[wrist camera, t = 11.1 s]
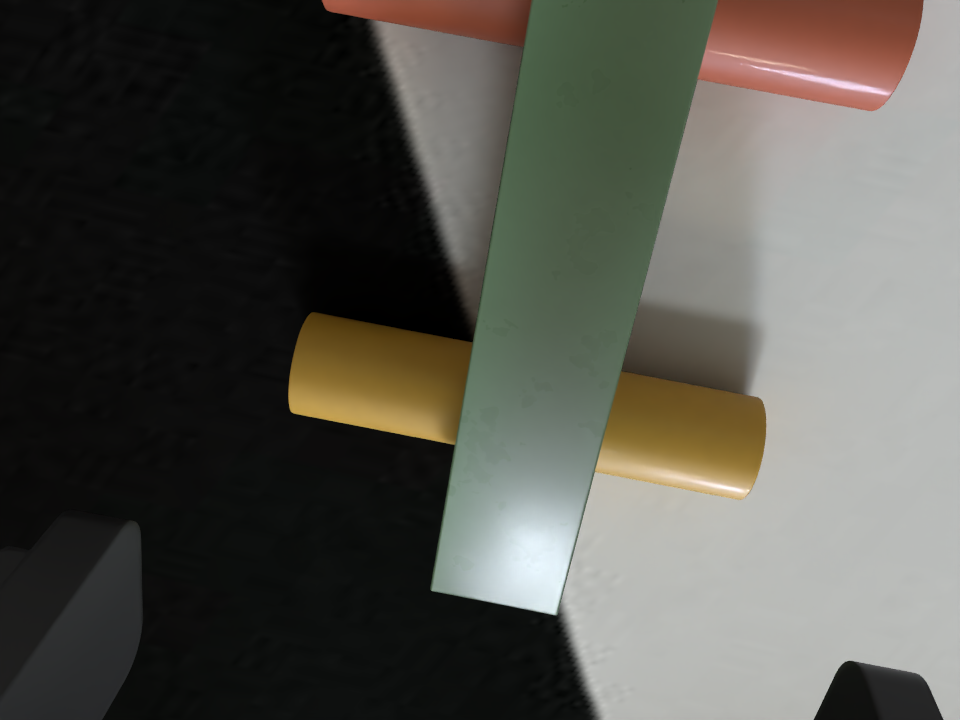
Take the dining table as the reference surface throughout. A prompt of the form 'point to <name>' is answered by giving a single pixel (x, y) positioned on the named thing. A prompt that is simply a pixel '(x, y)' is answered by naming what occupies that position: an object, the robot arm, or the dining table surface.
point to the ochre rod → (440, 389)
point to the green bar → (563, 284)
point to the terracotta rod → (729, 40)
